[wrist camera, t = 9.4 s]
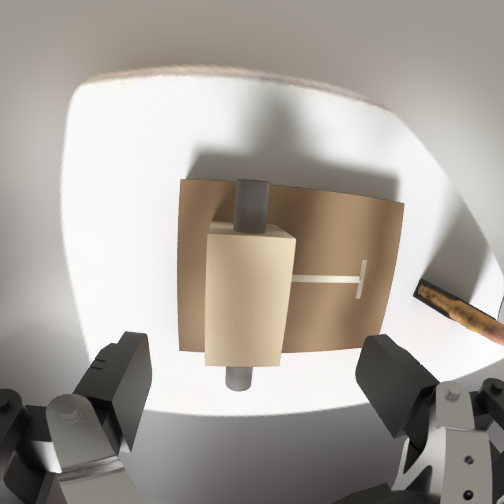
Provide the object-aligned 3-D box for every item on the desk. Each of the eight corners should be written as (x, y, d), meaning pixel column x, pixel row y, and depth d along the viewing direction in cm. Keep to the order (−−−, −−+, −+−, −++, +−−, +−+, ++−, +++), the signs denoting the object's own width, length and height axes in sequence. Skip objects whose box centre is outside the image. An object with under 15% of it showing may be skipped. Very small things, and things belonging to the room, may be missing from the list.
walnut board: (390, 201, 20) (404, 203, 18) (365, 335, 22) (375, 345, 21) (184, 180, 18) (180, 179, 16) (182, 337, 20) (179, 350, 19)
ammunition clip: (468, 303, 24) (538, 345, 12) (461, 317, 24) (529, 362, 13) (420, 278, 22) (515, 330, 10) (412, 295, 22) (502, 355, 11)
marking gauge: (278, 185, 17) (301, 184, 12) (261, 353, 19) (273, 397, 14) (213, 180, 16) (211, 176, 11) (207, 352, 19) (205, 398, 14)
